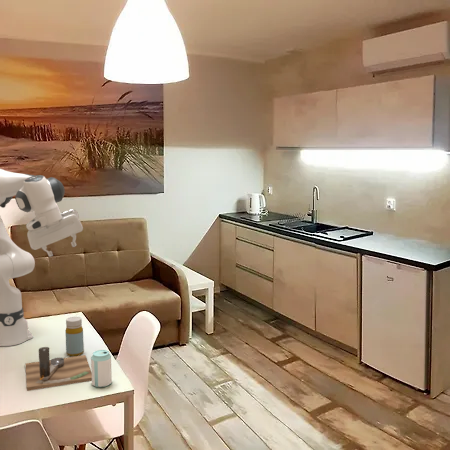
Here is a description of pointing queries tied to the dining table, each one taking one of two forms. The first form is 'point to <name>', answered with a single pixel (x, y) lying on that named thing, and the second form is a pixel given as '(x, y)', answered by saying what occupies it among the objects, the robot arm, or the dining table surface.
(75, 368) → the tuner board
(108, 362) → the can
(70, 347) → the bottle
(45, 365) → the peg lever
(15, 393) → the dining table surface
